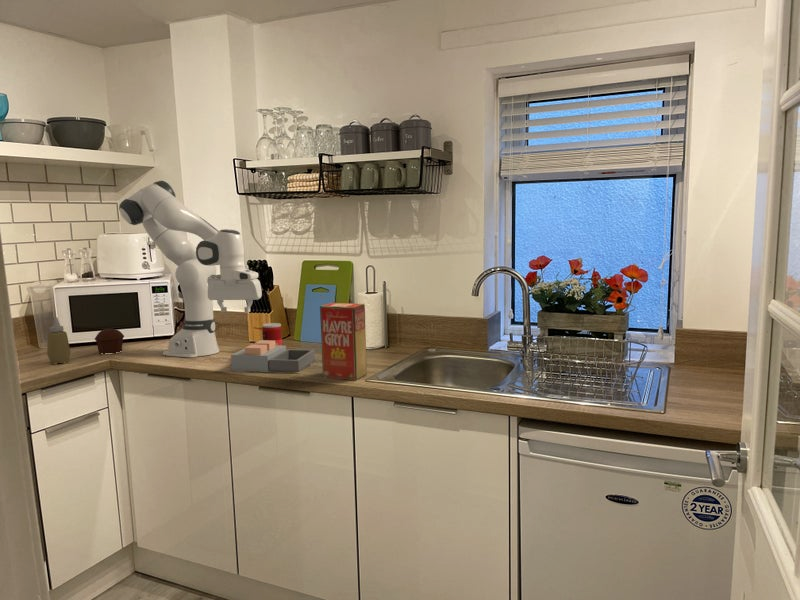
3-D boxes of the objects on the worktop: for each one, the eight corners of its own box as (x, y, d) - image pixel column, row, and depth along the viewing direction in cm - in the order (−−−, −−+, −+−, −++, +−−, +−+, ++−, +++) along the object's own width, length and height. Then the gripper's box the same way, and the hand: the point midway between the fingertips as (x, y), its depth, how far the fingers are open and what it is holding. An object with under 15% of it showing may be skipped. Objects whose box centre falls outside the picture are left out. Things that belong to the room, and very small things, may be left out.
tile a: (245, 354, 222) (244, 347, 222) (252, 351, 228) (251, 344, 228) (260, 354, 221) (260, 348, 221) (267, 351, 227) (266, 344, 226)
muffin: (92, 352, 260) (90, 329, 259) (119, 348, 268) (117, 325, 266) (101, 356, 252) (99, 332, 250) (129, 352, 259) (127, 329, 258)
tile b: (254, 349, 230) (253, 343, 229) (260, 346, 236) (260, 340, 235) (269, 350, 229) (269, 343, 228) (275, 346, 235) (275, 340, 234)
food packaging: (321, 377, 211) (318, 305, 208) (334, 371, 220) (331, 302, 216) (356, 380, 206) (354, 307, 203) (368, 374, 215) (366, 303, 211)
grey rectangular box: (231, 371, 223) (230, 354, 222) (252, 359, 240) (251, 344, 240) (268, 372, 220) (267, 355, 219) (286, 360, 238) (285, 345, 237)
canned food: (286, 349, 260) (284, 323, 258) (274, 352, 252) (273, 326, 251) (271, 347, 263) (270, 322, 261) (259, 351, 256) (258, 325, 254)
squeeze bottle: (45, 363, 241) (40, 317, 239) (67, 359, 247) (63, 315, 245) (52, 366, 236) (47, 319, 234) (74, 362, 242) (70, 317, 240)
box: (269, 372, 220) (268, 359, 219) (287, 360, 238) (287, 349, 237) (298, 373, 218) (298, 360, 217) (315, 361, 236) (314, 350, 235)
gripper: (202, 275, 222) (205, 313, 224) (254, 274, 218) (257, 313, 219) (211, 274, 229) (214, 310, 230) (262, 273, 224) (264, 310, 226)
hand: (235, 312), depth 225 cm, fingers open, 8 cm apart
